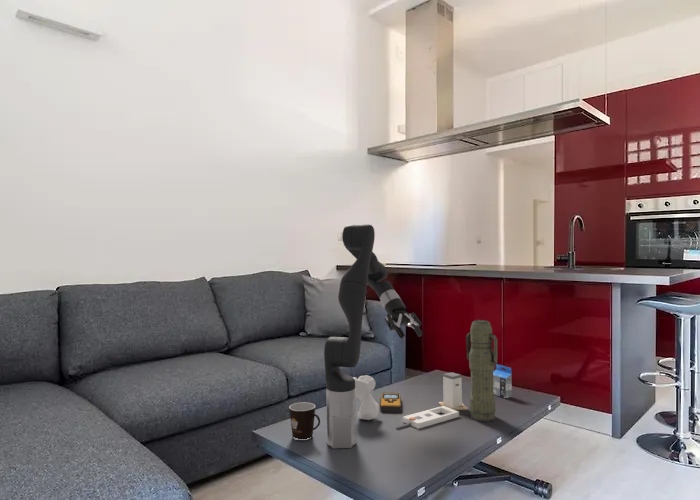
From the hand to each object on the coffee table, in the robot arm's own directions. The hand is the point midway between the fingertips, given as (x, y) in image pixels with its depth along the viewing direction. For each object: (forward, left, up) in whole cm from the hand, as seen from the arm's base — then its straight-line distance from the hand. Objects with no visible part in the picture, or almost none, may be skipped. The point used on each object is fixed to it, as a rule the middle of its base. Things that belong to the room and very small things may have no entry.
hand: (412, 336), depth 167 cm
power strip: (-8, -3, -29) cm, 30 cm away
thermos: (-6, -24, -29) cm, 38 cm away
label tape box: (+18, -41, -29) cm, 54 cm away
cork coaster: (+7, -17, -29) cm, 34 cm away
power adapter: (+7, -17, -28) cm, 34 cm away
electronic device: (+10, +7, -29) cm, 32 cm away
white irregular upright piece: (-4, +19, -29) cm, 35 cm away
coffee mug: (-20, +40, -29) cm, 53 cm away
